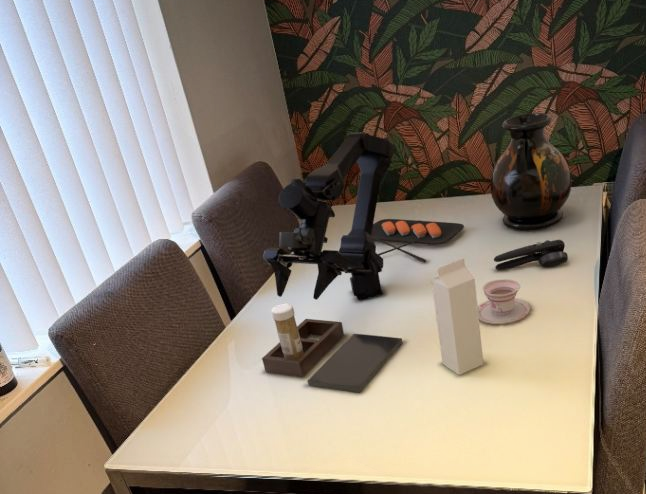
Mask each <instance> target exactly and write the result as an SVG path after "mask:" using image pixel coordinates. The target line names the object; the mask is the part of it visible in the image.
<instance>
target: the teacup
mask: <svg viewBox="0 0 646 494" xmlns="http://www.w3.org/2000/svg"><path fill="white" fill-rule="evenodd" d="M520 289H521V284H520V283H519V282H518V281H517V280H513V279H507V278H500V279H493V280H490V281H488V282H486V283H484V284H483V285H482V291H483V293H484V296H485V297H486V299H487V300H488V301H485V302H484V303H482V304H480V305H479V306H478V316H479V322H483V323H486V324H490V325H491V324H492V325H504V324H511V323H515V322H517V321H520V320H522V319H524V318H526V317H527V316H528V315H529V314H530V311H531V307H530V305H529V303H527V302H526V301H525V300H523V299H519V298H516V296H517V293H518V292H519V291H520Z"/></svg>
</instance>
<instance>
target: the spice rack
mask: <svg viewBox="0 0 646 494" xmlns="http://www.w3.org/2000/svg"><path fill="white" fill-rule="evenodd" d="M343 327H344V326H343V322H342V321H334V320H325V319H313V318H305V319H304V320H302V321H301V322H300V323H299V324H298V325H297V328H298V332H299V336H300V340H301V343H302V348H303V352H304V354H303V355H302V356H301V357H300V358H299V359H298V360H296V359H288V358H285V357H284V353H283V351H282V347H281V344H280V341H279V342H278V343H277V344H276V345H275V346H274V347H273V348H271V349H270V350H269V351H268V352H267V353H266V354H265V355H263V356H262V358H261V360H262V364H263V367H264V371H265V373H268V374H269V373H270V374H276V375H284V376H292V377H298V378H304V377H305V376H306V375H307V374H308V373H309V372H310V371H311V370H312V369H313V368H314V367H315V366H316V365H317V364H318V363H319V362H320V361H321V360H322V359H323V358H324V357H325V356H326V355H327V354H328V353H329V352H330V351H331V350H332V349H333V348H334V347H335V346H336V345H337V344H338V343H339V342H340V341H341V340H342V339H343V338H344V337H345V331H344V328H343ZM310 336H319V337H320V338H318V339H314V338H313V339H312V338H309V337H310Z"/></svg>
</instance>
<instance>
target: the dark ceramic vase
mask: <svg viewBox="0 0 646 494" xmlns="http://www.w3.org/2000/svg"><path fill="white" fill-rule="evenodd" d="M552 122H553V117H552V116H551V115H550V114H548V113H542V112H531V113H523V114H517V115H514V116H511V117H509V118H506V119H504V121H503V122H502V124H501V127H502V129H504V130H506V131H508V132H509V135H510V142H509V143H508V145H507V147H506V148H505V149H504V151H503V152H502V153H501V155H499V157H498V159H497V160H496V162H495V165H494V167H493V171H492V174H491V178H490V179H491V180H490V193H491V198H492V200H493V203H494V204H495V207H497V209H498V210H499V211H500V212H501V213H502V214H504V215H503V216H502V223H503V224H504V226H506V227H507V228H509V229H511V230H515V231H519V232H534V231H540V230H541V231H542V230H544V229H548V228H551V227H553V226H555V225H556V224H558V223H560V221H561V220H562V219H563V215H564V212H563V210H562V209H561V208H562V207H563V206H564V205H565V204H566V203H567V201H568V200H569V197H570V195H571V191H572V175H571V171H570V167H569V165H568V162H567V160H566V158H565V157H564V155H563V154H562V153H561V151H560V150H559V149H558V148H557V147H555V146H554V144H552V142H550V141H549V140H548V138H547V137H546V134H545V130H546V127H547V126H549V125H550V124H552Z"/></svg>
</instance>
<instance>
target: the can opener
mask: <svg viewBox="0 0 646 494" xmlns="http://www.w3.org/2000/svg"><path fill="white" fill-rule="evenodd" d="M565 247H566V244H565V242H564V240H562V239H554V240H549V239H546V240H544V241H543V242H540V241H537V242H536V243H535V244H534V243H533V244H530V245H526V246H521V247H519V248H516V249H512V250H509V251H506V252H503V253H500V254H498V255H496V256H495V257H494V258H493V262H495V263H497V264H496V265H495V267H494V268H495V270H497V271H503V270H509V269H514V268H518V267H520V266H523V265H526V264H530V263H533V262H537V263H538V264H539V265H540V266H541V267H543V268H553V267H557V266H561V265H562V264H564V263H566V262H567V261H568V260H569V257H568V253H567V252H566V251H565Z"/></svg>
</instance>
